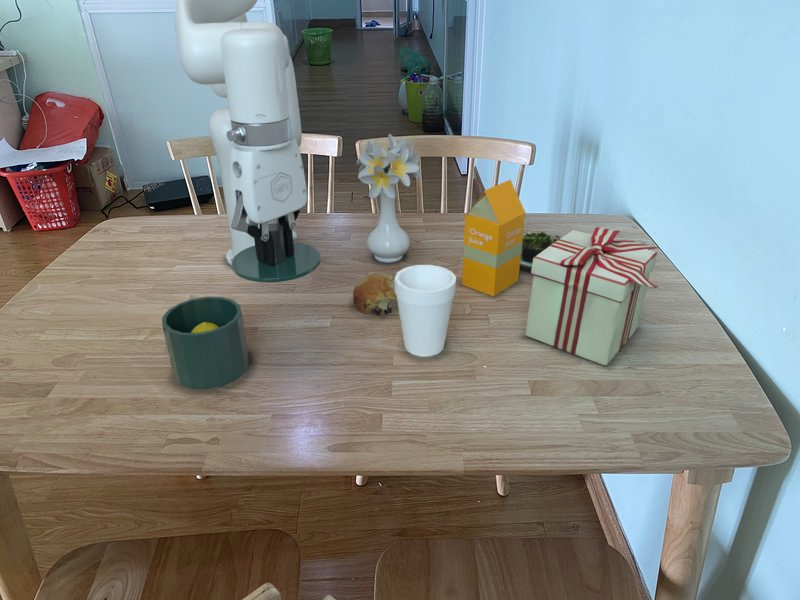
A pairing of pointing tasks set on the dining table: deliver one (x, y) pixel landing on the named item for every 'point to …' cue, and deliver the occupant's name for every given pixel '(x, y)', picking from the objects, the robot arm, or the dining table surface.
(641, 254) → the gift box
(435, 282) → the foam cup
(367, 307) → the bread roll
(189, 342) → the pot
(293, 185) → the robot arm
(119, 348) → the dining table surface
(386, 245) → the flower vase
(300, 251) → the lid
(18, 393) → the dining table surface
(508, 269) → the orange juice
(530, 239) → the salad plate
